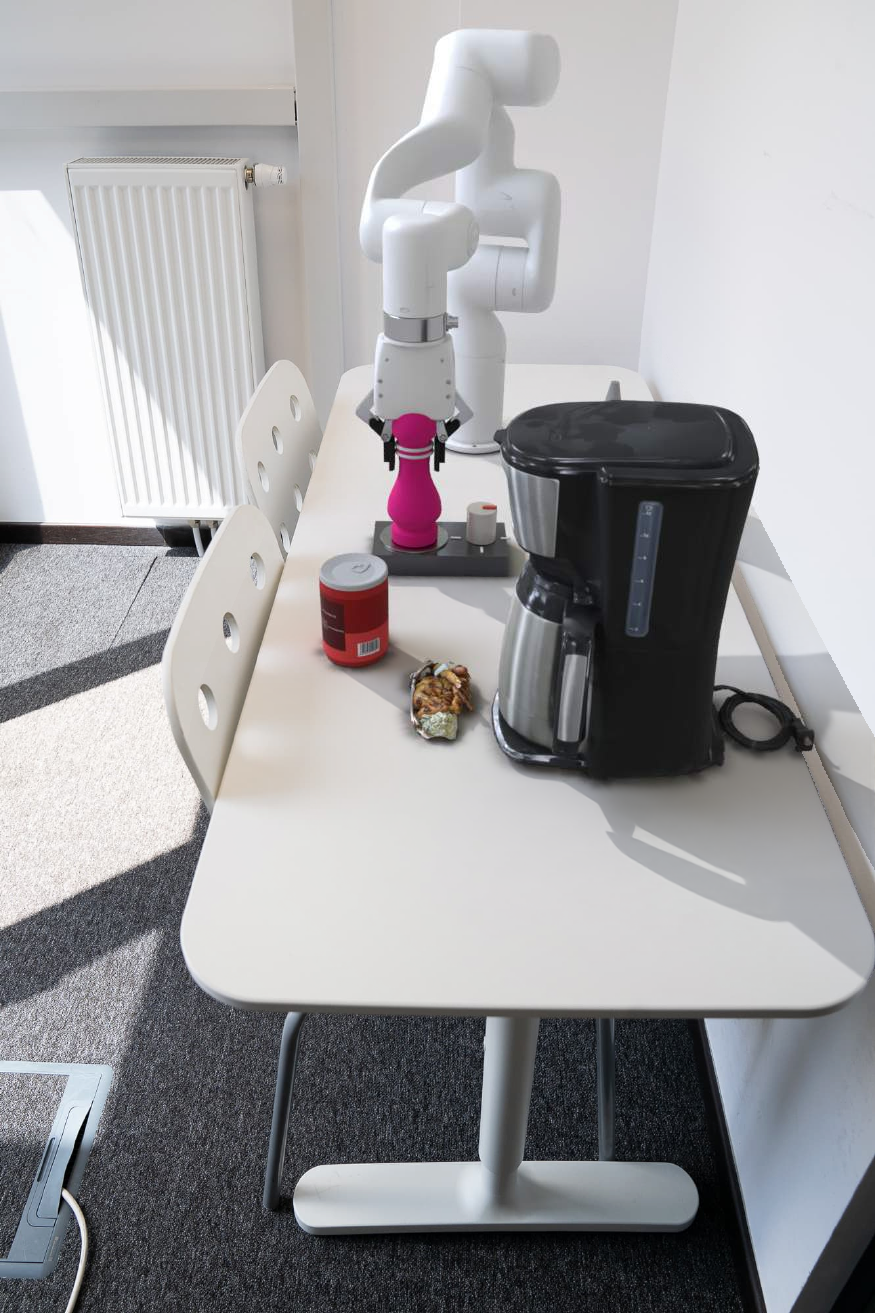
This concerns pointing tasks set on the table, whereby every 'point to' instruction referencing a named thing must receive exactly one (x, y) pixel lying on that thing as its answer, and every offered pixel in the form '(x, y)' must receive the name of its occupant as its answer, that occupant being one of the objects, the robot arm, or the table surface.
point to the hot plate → (448, 554)
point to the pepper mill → (414, 483)
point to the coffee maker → (625, 588)
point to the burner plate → (390, 544)
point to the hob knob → (481, 523)
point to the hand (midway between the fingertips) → (414, 465)
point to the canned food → (354, 609)
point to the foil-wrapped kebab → (438, 698)
